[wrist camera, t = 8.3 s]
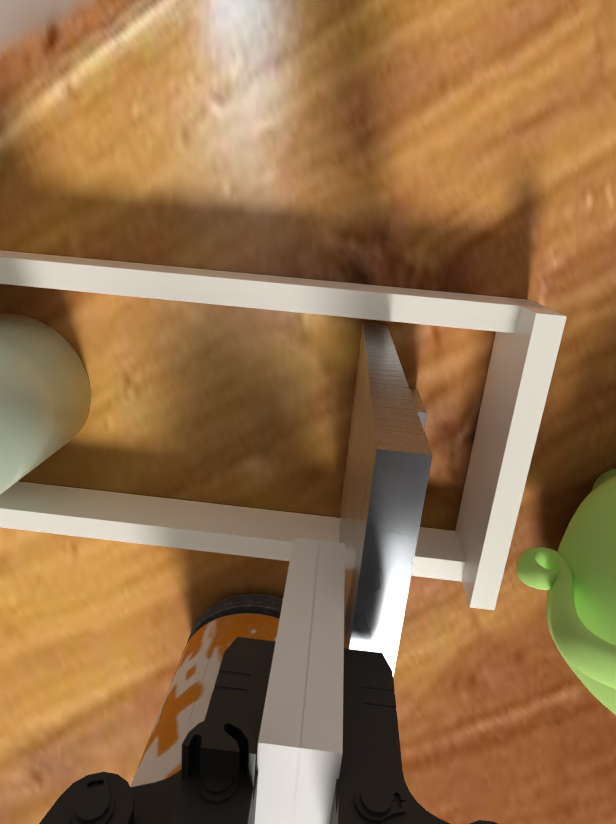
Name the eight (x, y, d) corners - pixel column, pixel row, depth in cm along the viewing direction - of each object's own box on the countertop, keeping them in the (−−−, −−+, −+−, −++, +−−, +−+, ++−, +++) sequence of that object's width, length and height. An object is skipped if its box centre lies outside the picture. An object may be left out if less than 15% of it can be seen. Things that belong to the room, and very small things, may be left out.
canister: (250, 560, 32) (108, 1032, 13) (384, 662, 34) (425, 1206, 15) (165, 644, 35) (-52, 1135, 16) (294, 735, 37) (233, 1273, 18)
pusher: (340, 511, 30) (329, 795, 15) (362, 321, 27) (377, 448, 12) (397, 517, 30) (441, 810, 15) (427, 328, 26) (525, 464, 11)
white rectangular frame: (-62, 489, 32) (-132, 535, 28) (-104, 240, 27) (-198, 244, 23) (472, 551, 31) (494, 610, 26) (527, 299, 26) (566, 316, 21)
